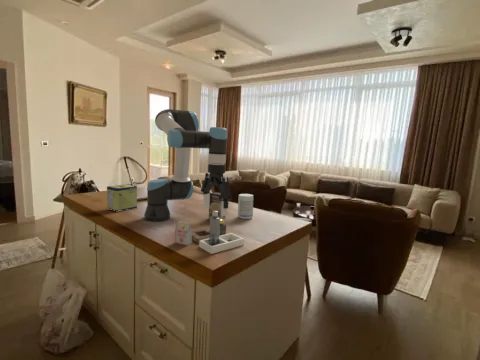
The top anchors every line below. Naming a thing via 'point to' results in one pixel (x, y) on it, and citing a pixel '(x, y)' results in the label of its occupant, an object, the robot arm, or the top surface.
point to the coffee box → (215, 204)
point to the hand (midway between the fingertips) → (214, 211)
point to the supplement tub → (245, 206)
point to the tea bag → (183, 233)
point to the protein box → (121, 197)
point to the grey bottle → (214, 229)
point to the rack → (222, 243)
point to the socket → (206, 233)
